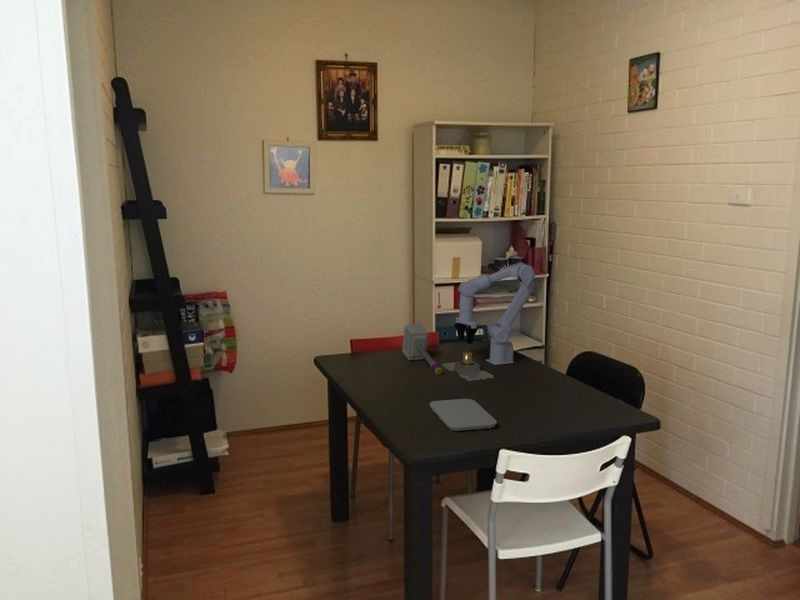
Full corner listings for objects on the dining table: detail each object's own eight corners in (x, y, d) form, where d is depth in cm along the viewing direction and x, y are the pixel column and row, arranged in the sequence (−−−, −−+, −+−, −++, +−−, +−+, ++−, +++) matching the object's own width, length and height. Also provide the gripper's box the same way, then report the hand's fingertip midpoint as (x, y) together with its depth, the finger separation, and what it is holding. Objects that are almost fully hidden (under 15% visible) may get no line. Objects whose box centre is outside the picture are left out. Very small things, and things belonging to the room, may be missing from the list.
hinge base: (465, 363, 292) (465, 355, 292) (493, 378, 271) (493, 369, 270) (442, 365, 288) (442, 357, 287) (468, 381, 267) (469, 372, 266)
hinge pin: (468, 370, 282) (468, 351, 281) (473, 372, 279) (473, 353, 277) (460, 371, 280) (461, 352, 279) (465, 373, 277) (466, 354, 276)
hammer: (450, 354, 272) (421, 321, 297) (432, 356, 269) (405, 323, 295) (445, 387, 278) (418, 352, 304) (427, 389, 275) (401, 354, 301)
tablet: (471, 404, 241) (471, 398, 240) (499, 430, 216) (499, 423, 215) (427, 407, 237) (427, 401, 237) (450, 434, 212) (450, 427, 212)
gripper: (449, 307, 293) (449, 338, 296) (466, 314, 280) (465, 346, 283) (464, 306, 296) (463, 337, 299) (481, 312, 283) (480, 344, 285)
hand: (465, 341), depth 291 cm, fingers open, 7 cm apart
